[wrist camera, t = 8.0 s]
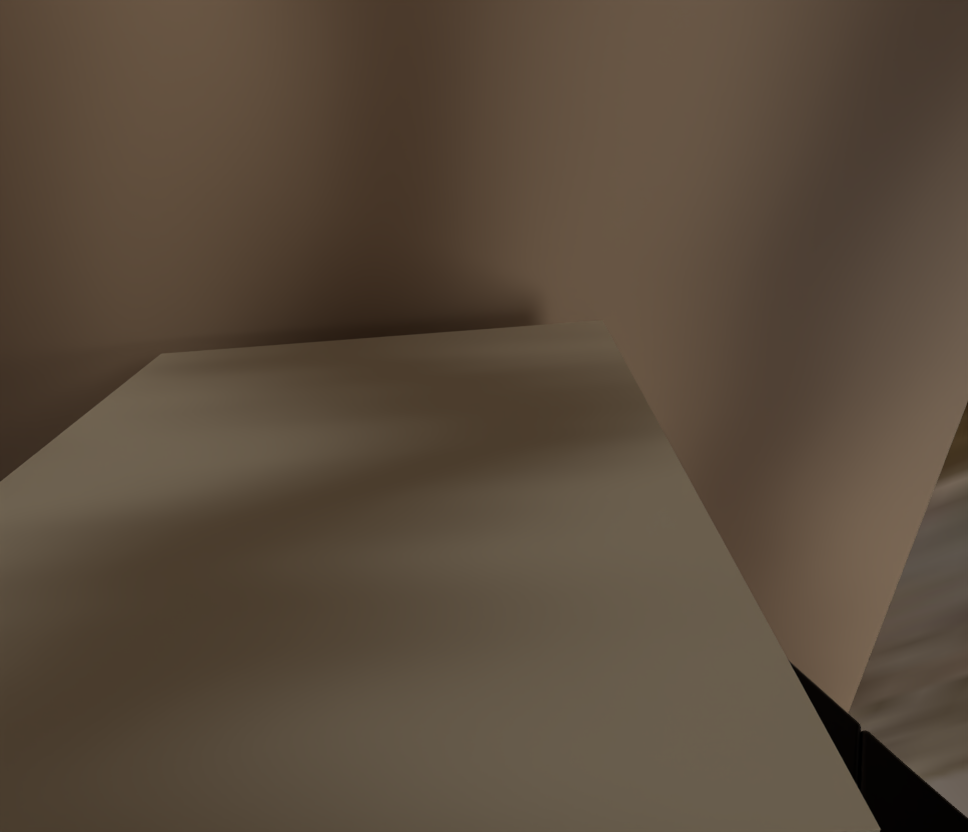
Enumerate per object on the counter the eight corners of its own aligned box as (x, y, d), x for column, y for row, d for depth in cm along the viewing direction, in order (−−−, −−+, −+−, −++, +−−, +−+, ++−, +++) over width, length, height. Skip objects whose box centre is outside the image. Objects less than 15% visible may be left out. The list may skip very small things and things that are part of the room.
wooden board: (1113, -305, 6) (1279, -410, 5) (800, 700, 15) (831, 756, 14) (-407, -137, 7) (-614, -192, 6) (142, 735, 16) (112, 793, 14)
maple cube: (603, 319, 8) (879, 829, 2) (595, 629, 10) (707, 1163, 5) (160, 353, 8) (-517, 892, 2) (275, 647, 11) (74, 1178, 5)
